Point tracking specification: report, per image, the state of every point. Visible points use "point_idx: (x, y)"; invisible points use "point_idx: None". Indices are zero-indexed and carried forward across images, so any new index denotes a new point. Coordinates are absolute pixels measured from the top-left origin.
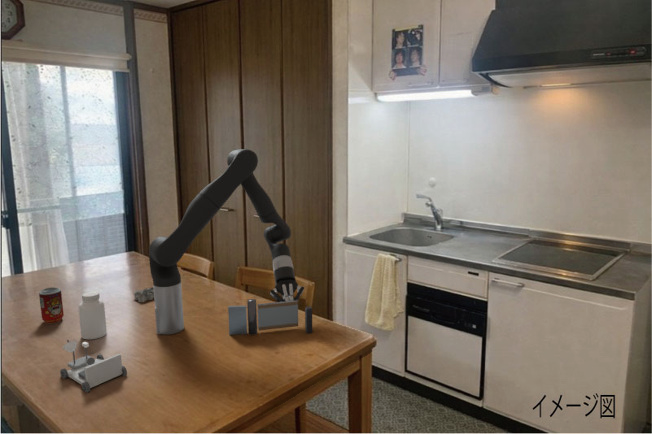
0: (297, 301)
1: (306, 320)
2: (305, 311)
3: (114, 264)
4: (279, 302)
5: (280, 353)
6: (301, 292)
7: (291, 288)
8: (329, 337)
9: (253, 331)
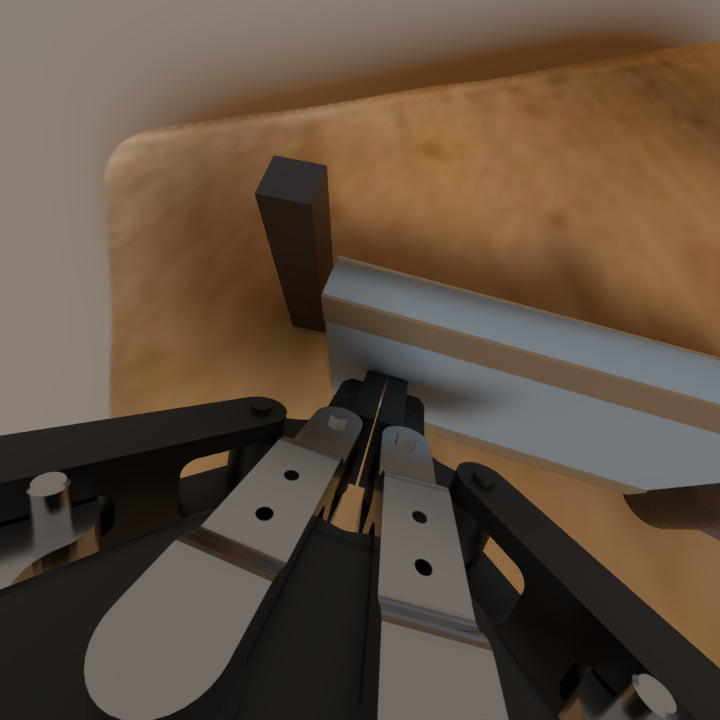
0: (342, 258)
1: (329, 255)
2: (318, 226)
3: None
4: (575, 345)
5: (545, 208)
6: (100, 422)
7: (228, 535)
8: None
9: None
